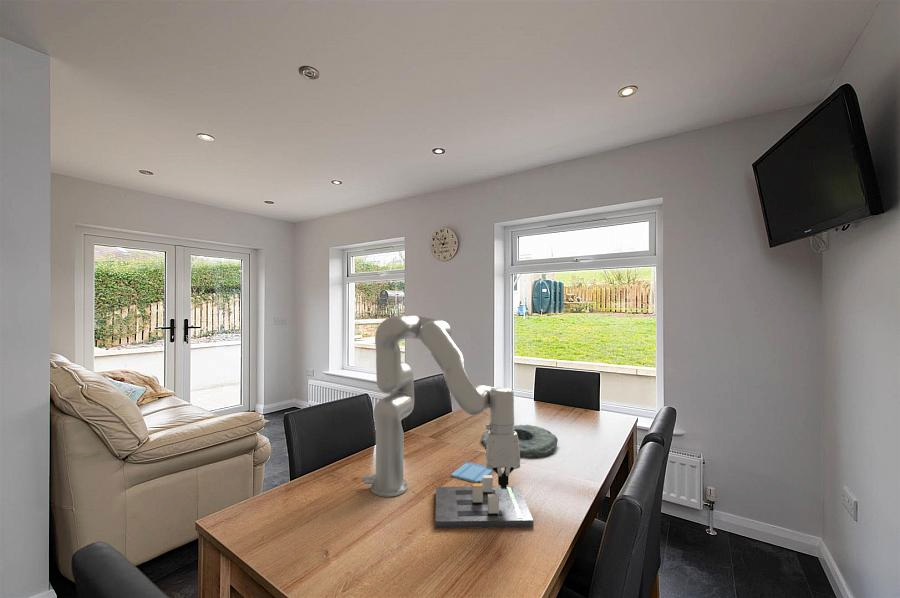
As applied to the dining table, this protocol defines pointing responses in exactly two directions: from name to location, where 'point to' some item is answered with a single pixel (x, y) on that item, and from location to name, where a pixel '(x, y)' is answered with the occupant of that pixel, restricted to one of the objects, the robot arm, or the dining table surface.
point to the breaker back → (487, 483)
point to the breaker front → (493, 503)
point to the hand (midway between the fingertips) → (503, 487)
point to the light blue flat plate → (471, 472)
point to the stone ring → (532, 441)
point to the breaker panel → (481, 509)
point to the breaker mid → (477, 492)
